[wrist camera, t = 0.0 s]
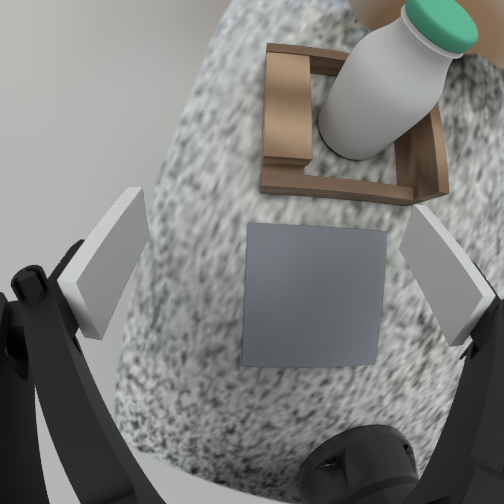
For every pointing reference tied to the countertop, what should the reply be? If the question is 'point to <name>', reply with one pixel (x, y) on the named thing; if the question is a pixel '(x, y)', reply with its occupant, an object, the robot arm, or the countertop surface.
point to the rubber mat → (312, 296)
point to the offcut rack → (300, 138)
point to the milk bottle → (394, 77)
